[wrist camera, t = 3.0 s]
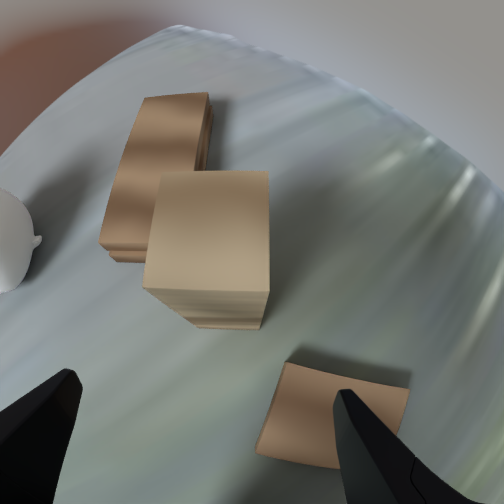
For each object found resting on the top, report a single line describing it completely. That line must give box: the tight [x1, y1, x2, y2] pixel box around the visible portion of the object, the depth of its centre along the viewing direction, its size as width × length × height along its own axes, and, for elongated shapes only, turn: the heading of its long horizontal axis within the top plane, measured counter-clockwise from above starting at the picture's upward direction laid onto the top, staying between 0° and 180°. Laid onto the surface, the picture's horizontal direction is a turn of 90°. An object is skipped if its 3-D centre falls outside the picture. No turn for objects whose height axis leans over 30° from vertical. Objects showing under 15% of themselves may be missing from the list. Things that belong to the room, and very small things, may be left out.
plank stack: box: [98, 92, 213, 263], centre depth 24 cm, size 17×7×3 cm, turn 179°
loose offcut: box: [255, 362, 410, 469], centre depth 17 cm, size 7×10×2 cm
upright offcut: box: [142, 171, 270, 330], centre depth 16 cm, size 5×4×12 cm
